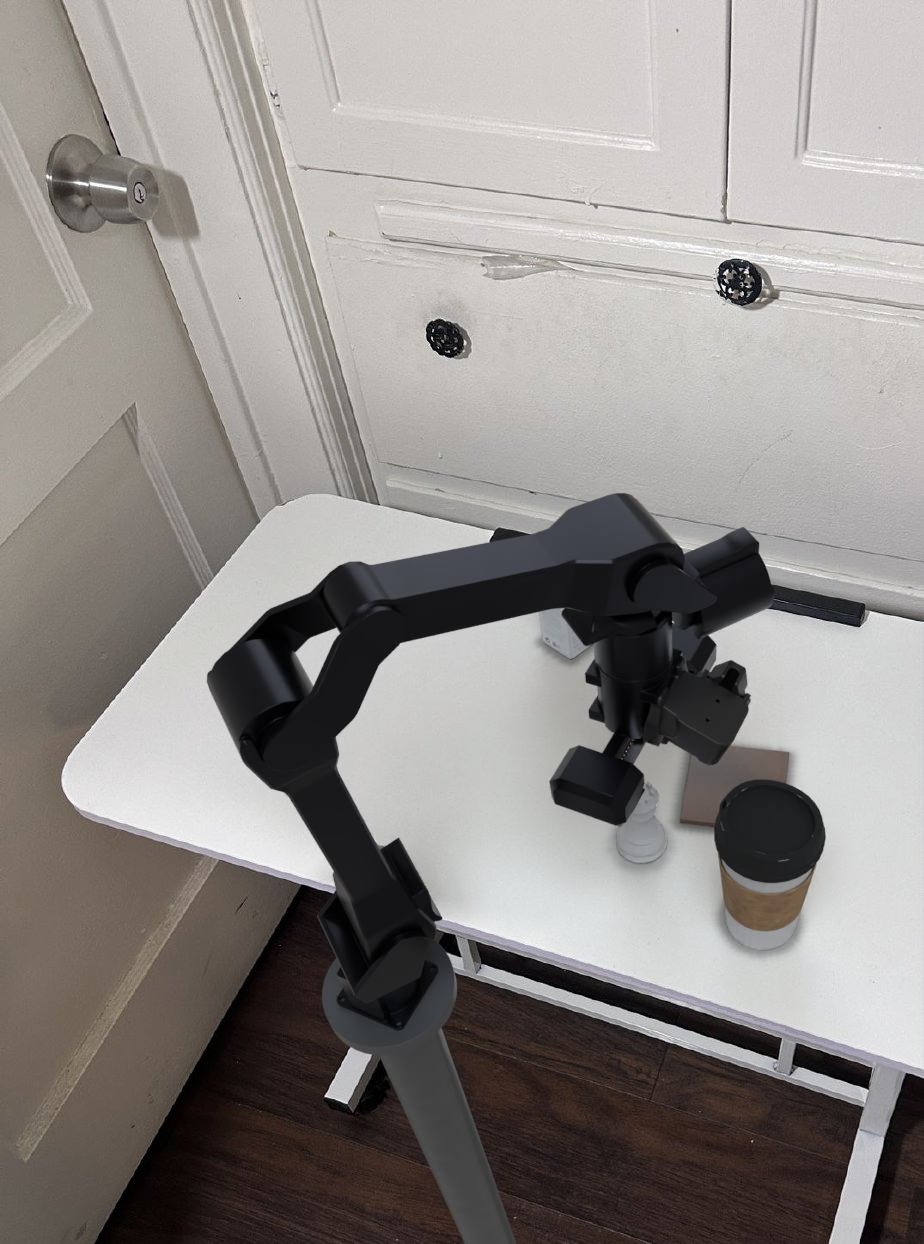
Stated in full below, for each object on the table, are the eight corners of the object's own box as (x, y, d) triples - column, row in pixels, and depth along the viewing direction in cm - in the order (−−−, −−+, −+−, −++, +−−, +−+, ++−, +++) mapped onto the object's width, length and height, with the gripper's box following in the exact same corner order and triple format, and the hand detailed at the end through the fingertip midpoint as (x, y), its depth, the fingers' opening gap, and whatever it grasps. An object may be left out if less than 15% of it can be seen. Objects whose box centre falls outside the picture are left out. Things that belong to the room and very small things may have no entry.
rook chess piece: (624, 820, 110) (620, 765, 104) (672, 829, 109) (671, 775, 103) (610, 860, 108) (606, 806, 101) (659, 870, 107) (658, 817, 100)
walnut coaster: (780, 834, 109) (780, 830, 108) (679, 823, 110) (679, 819, 109) (789, 755, 114) (789, 751, 114) (692, 745, 115) (693, 741, 115)
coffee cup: (726, 866, 107) (732, 760, 95) (822, 892, 105) (839, 787, 93) (698, 947, 102) (700, 846, 90) (797, 976, 100) (812, 876, 88)
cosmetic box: (572, 662, 122) (562, 572, 113) (539, 641, 124) (527, 551, 115) (613, 627, 125) (607, 537, 116) (580, 608, 127) (572, 517, 118)
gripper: (685, 781, 82) (685, 904, 94) (782, 598, 92) (771, 730, 104) (537, 731, 85) (556, 856, 97) (647, 560, 95) (651, 692, 107)
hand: (639, 781), depth 101 cm, fingers open, 9 cm apart
